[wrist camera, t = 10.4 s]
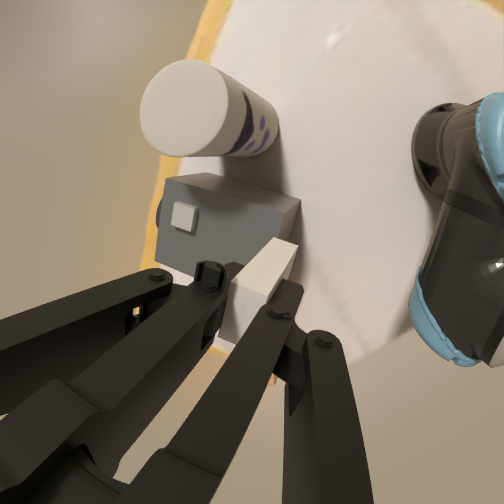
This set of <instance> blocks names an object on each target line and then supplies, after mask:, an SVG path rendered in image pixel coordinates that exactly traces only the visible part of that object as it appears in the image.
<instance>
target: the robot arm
mask: <svg viewBox="0 0 504 504" xmlns="http://www.w3.org/2000/svg"><path fill="white" fill-rule="evenodd" d="M411 149H412V158H413V163H414V166H415V169H416V172H417V174H418V176H419V178H420V179H421V181H422V182H423V184H424V185H425V186H426V188H427V189H428V190H429V191H430V192H431V193H432V194H434V195H435V196H436V197H438V198H440V199H442V200H444V201H443V203H442V207H441V210H440V213H439V216H438V219H437V223H436V226H435V229H434V232H433V235H432V237H431V240H430V243H429V246H428V249H427V251H426V254H425V257H424V259H423V262H422V264H421V266H419V268H418V270H417V274H416V281H415V284H414V287H413V289H412V292H411V294H410V297H409V303H408V305H409V315H410V318H411V321H412V323H413V325H414V327H415V329H416V331H417V332H418V334H419V335H420V337H421V338H422V339H423V340H424V341H425V343H426V344H427V345H428V346H429V347H430V348H431V349H432V350H433V351H435V352H436V353H437V354H438V355H439V356H441V357H442V358H444V359H446V360H447V361H450V360H451V359H452V360H453V362H454V363H455V364H456V365H458V366H463V367H470V366H474V365H476V364H477V363H479V362H481V361H484V362H485V363H486V364H487V365H488V366H489V367H491V368H493V367H497V366H502V365H504V92H503V93H500V92H499V93H492V94H491V95H488V96H486V97H485V98H483V99H481V100H479V101H476V102H474V103H472V104H470V105H468V106H466V105H463V104H458V103H445V104H441V105H438V106H436V107H434V108H432V109H431V110H429V111H428V112H426V113H425V114H424V115H423V116H422V117H421V118H420V120H419V121H418V123H417V125H416V127H415V130H414V133H413V137H412V147H411ZM297 249H298V245H295V244H292V243H289V242H286V241H283V240H280V239H277V238H274V237H273V238H272V239H271V240H270V241H269V243H268V244H267V245H266V246H265V247H264V248H263V249H262V250H261V251H260V252H259V253H258V254H257V255H256V256H255V257H254V258H253V259H252V260H251V261H250V262H249V263H248V264H247V265H246V266H245V265H242V264H239V263H237V262H230V263H226V264H225V265H223V264H221V263H218V262H214V261H207V260H206V261H200V262H197V264H196V270H195V276H194V281H193V282H192V283H191V284H189V285H188V286H184V285H179V284H174V283H173V276H172V274H171V273H169V272H168V271H166V270H164V269H160V268H150V269H146V270H143V271H140V272H137V273H134V274H131V275H128V276H125V277H122V278H119V279H116V280H113V281H110V282H107V283H105V284H101V285H98V286H95V287H92V288H90V289H86V290H84V291H81V292H78V293H75V294H72V295H69V296H66V297H63V298H60V299H58V300H55V301H52V302H49V303H46V304H43V305H41V306H38V307H35V308H32V309H29V310H26V311H24V312H21V313H18V314H15V315H12V316H10V317H7V318H4V319H2V320H0V416H1V415H5V414H8V413H9V414H8V415H6V416H5V417H4V418H3V419H2V420H0V504H210V502H211V499H212V498H213V496H214V494H215V492H216V490H217V489H218V487H219V485H220V483H221V481H222V479H223V477H224V475H225V473H226V471H227V469H228V468H229V466H230V464H231V461H232V460H233V458H234V456H235V454H236V451H237V449H238V447H239V445H240V443H241V441H242V439H243V437H244V435H245V433H246V431H247V429H248V426H249V424H250V422H251V420H252V417H253V416H254V413H255V411H256V409H257V407H258V404H259V402H260V400H261V398H262V395H263V393H264V391H265V389H266V386H267V384H268V382H269V380H270V377H271V375H272V373H273V374H274V375H276V376H277V377H279V378H280V379H282V380H283V381H285V382H286V384H285V399H284V400H285V401H284V402H285V405H284V458H283V489H282V504H374V502H373V494H372V488H371V481H370V475H369V469H368V463H367V458H366V452H365V447H364V442H363V436H362V432H361V427H360V422H359V417H358V412H357V408H356V403H355V398H354V394H353V389H352V385H351V381H350V377H349V372H348V368H347V364H346V360H345V356H344V352H343V348H342V344H341V342H340V340H339V339H338V338H337V337H336V336H335V335H333V334H332V333H330V332H327V331H324V330H313V331H310V332H309V333H308V334H307V333H306V332H304V331H303V330H301V329H300V328H299V327H298V326H297V324H296V323H295V320H294V318H295V315H296V312H297V310H298V307H299V304H300V302H301V299H302V296H303V293H304V289H303V287H302V285H300V284H297V283H295V282H292V281H289V280H288V277H289V274H290V271H291V268H292V265H293V261H294V258H295V255H296V252H297ZM136 307H139V314H137V315H133V309H134V308H136ZM219 328H220V330H219V334H218V337H219V338H222V339H224V340H226V341H229V342H231V343H234V344H236V346H235V348H234V349H233V351H232V352H231V354H230V355H229V357H228V358H227V360H226V362H225V363H224V364H223V366H222V367H221V369H220V370H219V372H218V373H217V375H216V376H215V378H214V379H213V381H212V382H211V384H210V385H209V387H208V388H207V390H206V391H205V393H204V394H203V395H202V397H201V399H200V400H199V401H198V403H197V404H196V406H195V407H194V409H193V410H192V411H191V413H190V414H189V416H188V417H187V419H186V420H185V422H184V423H183V424H182V426H181V427H180V429H179V430H178V431H177V433H176V434H175V436H174V437H173V438H172V440H171V441H170V443H169V444H168V445H167V446H166V447H165V448H161V449H158V450H157V451H156V452H155V453H154V454H153V455H152V456H151V457H150V458H149V460H148V461H147V462H146V464H145V465H144V467H143V468H142V469H141V470H140V472H139V473H138V474H137V475H136V477H135V478H134V480H133V481H132V482H131V483H130V484H126V483H123V482H121V481H118V480H115V479H113V476H114V475H115V473H116V471H117V469H118V466H119V462H120V460H121V458H122V457H123V456H124V454H125V453H126V452H127V451H128V449H129V448H130V447H131V445H133V443H134V442H135V441H136V440H137V438H138V437H139V436H140V435H141V433H142V432H143V431H144V430H145V429H146V427H147V426H148V425H149V424H150V422H151V421H152V420H153V419H154V417H155V416H156V415H157V414H158V412H159V411H160V410H161V409H162V407H163V406H164V405H165V404H166V402H167V401H168V400H169V399H170V397H171V396H172V395H173V394H174V392H175V391H176V390H177V388H178V387H179V386H180V385H181V383H182V382H183V381H184V379H185V378H186V377H187V376H188V375H189V373H190V372H191V371H192V369H193V368H194V367H195V366H196V364H197V363H198V362H199V360H200V359H201V358H202V357H203V355H204V354H205V353H206V351H207V350H208V349H209V347H210V346H211V345H212V344H213V341H214V337H215V333H216V332H217V331H218V329H219Z"/></svg>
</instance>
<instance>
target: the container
mask: <svg viewBox="0 0 504 504" xmlns="http://www.w3.org/2000/svg"><path fill="white" fill-rule="evenodd" d="M140 124H141V129H142V132H143V134H144V136H145V138H146V140H147V141H148V143H149V144H150V145H151V146H152V147H153V148H154V149H155V150H157V151H158V152H159V153H161V154H163V155H166V156H170V157H208V156H240V157H249V156H255V155H258V154H260V153H262V152H264V151H265V150H267V149H268V148H269V147H270V146H271V145H272V143H273V142H274V140H275V138H276V136H277V133H278V128H279V122H278V116H277V113H276V111H275V109H274V108H273V106H272V105H271V104H270V103H269V102H268V101H266V100H265V99H263V98H262V97H260V96H259V95H257V94H256V93H254V92H253V91H251V90H250V89H248V88H247V87H245V86H244V85H242V84H241V83H239V82H238V81H236V80H234V79H233V78H231V77H230V76H228V75H226V74H225V73H223V72H222V71H220V70H218V69H217V68H215V67H213V66H211V65H210V64H208V63H206V62H203V61H200V60H194V59H187V60H181V61H177V62H174V63H172V64H170V65H168V66H166V67H165V68H163V69H162V70H161V71H160V72H159V73H157V74H156V76H155V77H154V78H153V79H152V80H151V82H150V83H149V85H148V86H147V88H146V90H145V92H144V95H143V97H142V101H141V105H140Z"/></svg>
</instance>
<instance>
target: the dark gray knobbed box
mask: <svg viewBox="0 0 504 504" xmlns="http://www.w3.org/2000/svg"><path fill="white" fill-rule="evenodd" d="M300 201H301V200H300V199H297V198H294V197H291V196H287V195H284V194H281V193H278V192H274V191H271V190H268V189H264V188H261V187H258V186H254V185H251V184H247V183H244V182H240V181H237V180H233V179H229V178H226V177H222V176H218V175H215V174H211V173H199V174H191V175H184V176H177V177H170V178H166V180H165V187H164V193H163V197H162V199H161V201H160V203H159V206H158V209H157V213H156V224H157V228H158V236H157V244H156V253H155V261H156V262H159V263H161V264H163V265H166V266H168V267H171V268H173V269H175V270H178V271H180V272H182V273H185V274H187V275H190V276H192V277H194V276H195V270H196V264H197V262H200V261H206V260H207V261H214V262H218V263H221V264H223V265H225V264H226V263H230V262H237V263H239V264H242V265H245V266H246V265H247V264H248V263H249V262H250V261H251V260H252V259H253V258H254V257H255V256H256V255H257V254H258V253H259V252H260V251H261V250H262V249H263V248H264V247H265V246H266V245H267V244H268V243H269V241H270V240H271V239H272V238H273V237H274V238H277V239H280V240H283V241H286V242H289V238H290V235H291V232H292V228H293V225H294V221H295V218H296V215H297V211H298V208H299V204H300Z"/></svg>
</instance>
